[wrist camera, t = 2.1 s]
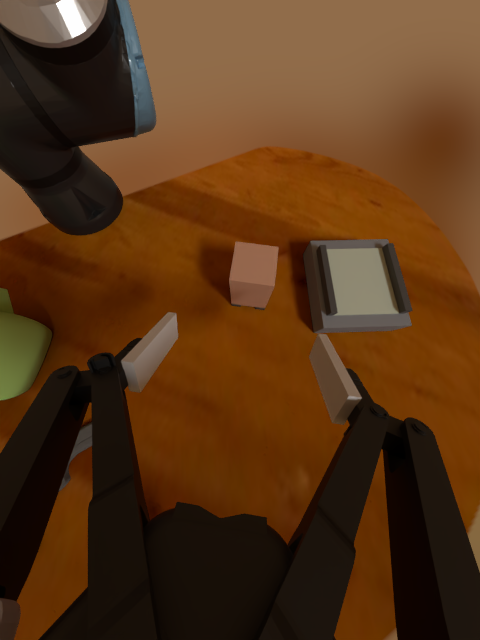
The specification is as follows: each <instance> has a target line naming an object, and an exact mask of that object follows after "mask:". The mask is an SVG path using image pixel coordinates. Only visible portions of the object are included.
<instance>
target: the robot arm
mask: <svg viewBox="0 0 480 640" xmlns="http://www.w3.org/2000/svg"><path fill="white" fill-rule="evenodd" d="M155 125H156V113H155V107H154V102H153V97H152V92H151V87H150V83H149V79H148V75H147V71H146V67H145V64H144V59H143V55H142V51H141V46H140V42H139V38H138V34H137V30H136V26H135V23H134V19H133V15H132V12H131V8H130V5H129V2H128V0H0V169H1V170H2V171H3V172H5V173H6V174H7V175H8V176H10V177H11V178H12V179H13V180H14V181H15V182H17V183H18V184H19V185H20V186H21V187H22V188H23V189H24V191H25V192H26V193H27V195H28V196H29V197H30V198H31V200H32V201H33V202H34V203H35V204H36V205H37V207H39V209H40V211H41V213H42V214H43V216H44V217H45V218H46V219H47V220H48V221H49V222H50V223H51V224H53V225H54V226H55V227H57V228H58V229H59V230H61V231H62V232H65V233H67V234H71V235H87V234H92V233H95V232H98V231H100V230H102V229H104V228H106V227H107V226H109V225H110V224H111V223H112V222H113V221H114V220H115V219H116V218H117V216H118V215H119V213H120V211H121V209H122V205H123V197H122V194H121V192H120V190H119V188H118V187H117V185H116V184H115V182H114V181H113V180H112V179H111V177H109V176H108V175H107V174H106V173H105V172H103V171H102V170H101V169H100V168H99V167H98V166H97V165H96V164H95V163H93V161H91V160H90V159H89V158H88V157H87V156H86V155H85V154H84V153H83V152H82V151H81V150H80V148H79V147H78V146H82V145H88V144H95V143H100V142H106V141H112V140H118V139H123V138H129V137H136V136H137V135H139V134H143V133H146V132H149V131H151V130H153V128H154V127H155ZM177 338H178V328H177V315H176V313H171V312H168V313H167V314H166V315H165V316H164V317H163V318H162V319H161V320H160V321H159V322H158V323H157V324H156V325H155V326H154V327H153V328H152V329H151V330H150V331H149V332H148V333H147V335H146V336H145V337H144V338H136V339H135V340H133V341H131V342H130V343H129V344H128V345H127V346H126V347H125V348H124V349H123V350H122V351H121V352H120V353H118V354H117V355H116V356H115V357H114V356H113V354H111V353H100V354H97V355H95V356H93V357H91V358H90V359H89V360H88V362H87V364H88V367H89V369H90V370H88V371H79V369H78V368H77V367H76V366H65V367H62V368H60V369H57V370H56V371H54V372H53V373H52V374H51V375H50V376H49V378H48V379H47V381H46V382H45V384H44V385H43V387H42V389H41V390H40V392H39V393H38V395H37V397H36V398H35V400H34V401H33V403H32V404H31V406H30V408H29V409H28V411H27V412H26V414H25V416H24V417H23V419H22V420H21V422H20V423H19V425H18V427H17V428H16V430H15V431H14V433H13V435H12V436H11V438H10V439H9V441H8V442H7V444H6V446H5V447H4V449H3V450H2V452H1V453H0V640H13V639H14V637H15V634H16V630H17V627H18V624H19V619H20V614H21V613H20V605H19V604H18V603H17V599H18V597H19V595H20V592H21V590H22V588H23V586H24V584H25V582H26V580H27V577H28V575H29V573H30V570H31V568H32V565H33V563H34V560H35V558H36V555H37V552H38V549H39V547H40V544H41V541H42V538H43V535H44V532H45V529H46V526H47V523H48V521H49V518H50V515H51V512H52V509H53V506H54V503H55V500H56V498H57V495H58V492H59V489H60V486H61V483H62V480H63V477H64V474H65V472H66V469H67V466H68V463H69V460H70V457H71V454H72V451H73V448H74V446H75V443H76V440H77V437H78V434H79V431H80V428H81V425H82V422H83V420H84V417H85V414H86V411H87V408H88V405H89V403H90V402H92V468H93V497H92V500H91V501H90V503H89V508H88V587H87V588H86V589H85V590H84V592H83V593H82V594H81V595H80V596H79V597H78V598H77V599H76V600H75V601H74V602H73V603H72V604H71V605H70V607H69V608H68V609H67V610H66V611H65V612H64V613H63V614H62V615H61V616H60V617H59V618H58V619H57V620H56V621H55V623H54V624H53V625H52V626H51V627H50V628H49V629H48V630H47V631H46V632H45V633H44V634H43V635H42V636H41V637H40V639H39V640H336V639H335V637H334V633H335V630H336V626H337V622H338V619H339V615H340V611H341V608H342V604H343V600H344V597H345V593H346V590H347V586H348V582H349V579H350V575H351V571H352V568H353V564H354V560H355V553H356V550H355V548H354V540H355V536H356V533H357V530H358V526H359V523H360V519H361V516H362V513H363V509H364V506H365V502H366V499H367V496H368V492H369V489H370V485H371V482H372V479H373V475H374V472H375V468H376V465H377V462H378V458H379V455H380V451H381V449H383V457H384V471H385V484H386V498H387V511H388V525H389V538H390V552H391V565H392V578H393V592H394V605H395V619H396V628H397V637H398V640H480V572H479V569H478V566H477V563H476V560H475V557H474V554H473V551H472V548H471V545H470V542H469V539H468V536H467V533H466V530H465V527H464V524H463V521H462V518H461V515H460V511H459V508H458V505H457V502H456V499H455V496H454V493H453V490H452V487H451V484H450V481H449V478H448V475H447V472H446V469H445V466H444V463H443V460H442V457H441V454H440V451H439V448H438V445H437V442H436V439H435V436H434V434H433V432H432V431H431V430H430V429H429V427H428V426H426V425H425V424H424V423H422V422H421V421H419V420H417V419H414V418H406V419H405V420H404V421H401V420H399V419H396V418H394V417H391V416H389V414H388V412H387V411H386V410H385V409H384V408H382V407H381V406H380V405H378V404H376V403H374V402H373V400H372V399H371V397H370V395H369V394H368V392H367V390H366V389H365V387H364V386H363V384H362V382H361V381H360V379H359V377H358V376H357V374H356V373H355V372H354V371H353V370H351V369H348V368H345V367H344V365H343V363H342V361H341V360H340V358H339V356H338V354H337V352H336V351H335V349H334V347H333V345H332V343H331V342H330V340H329V338H328V336H327V335H325V334H318V335H317V337H316V340H315V343H314V345H313V348H312V350H311V353H310V355H309V358H310V361H311V364H312V366H313V369H314V372H315V375H316V378H317V381H318V384H319V387H320V389H321V392H322V395H323V398H324V401H325V404H326V407H327V410H328V412H329V415H330V418H331V421H332V423H337V424H343V425H344V423H345V422H346V420H347V419H348V422H349V424H350V426H349V427H348V429H347V430H346V431H345V433H344V437H343V439H342V441H341V443H340V445H339V447H338V449H337V451H336V453H335V455H334V457H333V459H332V461H331V463H330V465H329V467H328V469H327V471H326V473H325V475H324V477H323V478H322V480H321V482H320V484H319V486H318V488H317V490H316V492H315V494H314V496H313V498H312V500H311V502H310V504H309V506H308V508H307V510H306V512H305V514H304V516H303V518H302V520H301V522H300V524H299V526H298V528H297V529H296V531H295V532H294V534H293V536H292V538H291V539H290V541H289V543H288V545H287V544H286V542H285V541H284V540H283V538H282V537H281V536H280V535H279V534H278V533H277V532H276V531H275V530H274V529H273V528H271V527H270V526H268V525H267V518H266V517H260V516H255V515H249V514H240V515H235V516H230V517H225V518H219V517H217V516H215V515H213V514H212V513H210V512H208V511H207V510H205V509H203V508H202V507H200V506H198V505H192V504H187V503H181V502H177V503H176V507H175V508H173V509H170V510H167V511H164V512H163V513H161V514H159V515H157V516H156V517H155V518H153V519H152V520H151V521H150V520H149V515H148V510H147V506H146V502H145V498H144V493H143V487H142V482H141V477H140V471H139V466H138V460H137V455H136V449H135V444H134V438H133V433H132V428H131V422H130V417H129V411H128V406H127V400H126V395H125V391H124V390H125V388H126V387H127V386H128V387H129V390H130V391H134V392H141V391H142V390H143V388H144V387H145V385H146V384H147V382H148V381H149V379H150V378H151V376H152V375H153V373H154V372H155V371H156V369H157V368H158V366H159V365H160V363H161V362H162V360H163V359H164V357H165V356H166V354H167V353H168V352H169V350H170V349H171V347H172V346H173V344H174V343H175V341H176V340H177Z"/></svg>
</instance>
